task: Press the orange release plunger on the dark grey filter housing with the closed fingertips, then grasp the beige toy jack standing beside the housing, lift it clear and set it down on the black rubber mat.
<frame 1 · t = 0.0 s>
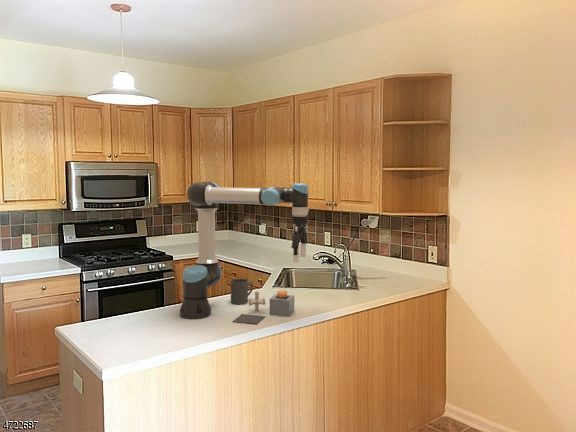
hand: (299, 259, 238), 28 cm above the worktop, fingers open, 13 cm apart
mug: (242, 302, 265), on the worktop
mat: (249, 319, 234), on the worktop
plunger: (282, 294, 244), point 10 cm above the worktop, slide at 0.0 cm
housing: (282, 312, 245), on the worktop
beige toy jack: (256, 311, 248), on the worktop
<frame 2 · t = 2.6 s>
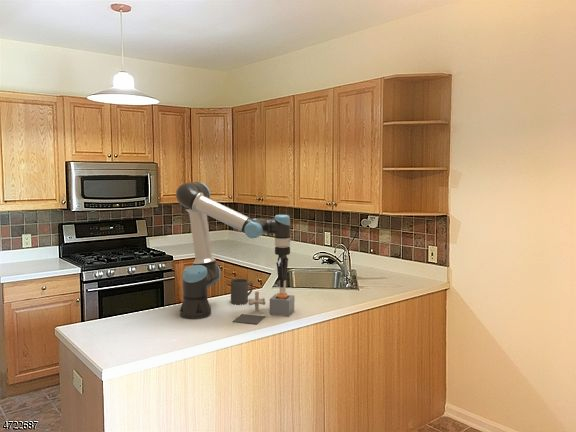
hand: (282, 293, 244), 10 cm above the worktop, fingers closed
plunger: (282, 296, 244), point 9 cm above the worktop, slide at 1.0 cm, touching gripper
everything else where it was.
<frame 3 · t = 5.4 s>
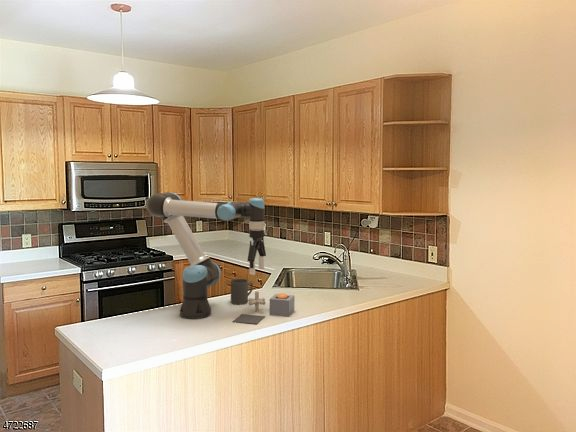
hand: (257, 271, 246), 20 cm above the worktop, fingers open, 13 cm apart
plunger: (282, 297, 244), point 8 cm above the worktop, slide at 1.6 cm
everything else where it was.
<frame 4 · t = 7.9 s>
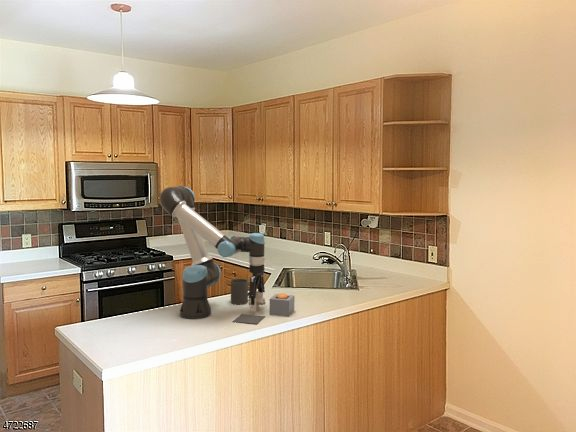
hand: (256, 307, 248), 2 cm above the worktop, fingers closed on beige toy jack, 10 cm apart
beige toy jack: (256, 311, 248), on the worktop, touching gripper
everything else where it was.
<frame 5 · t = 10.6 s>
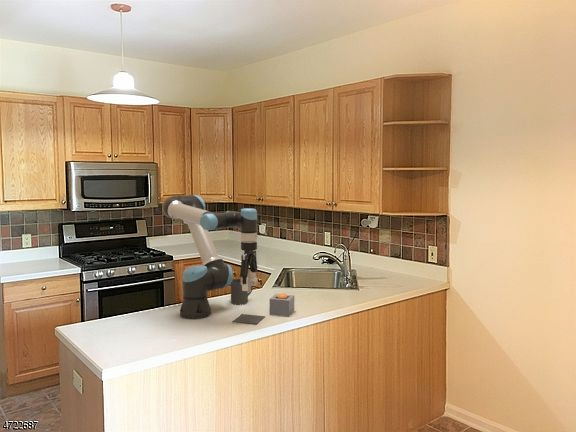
hand: (249, 288, 233), 15 cm above the worktop, fingers closed on beige toy jack, 10 cm apart
beige toy jack: (249, 292, 233), point 13 cm above the worktop, touching gripper
everything else where it was.
when the fingers open (4 cm above the worktop, at t = 13.2 s): beige toy jack drops 1 cm, resting on mat.
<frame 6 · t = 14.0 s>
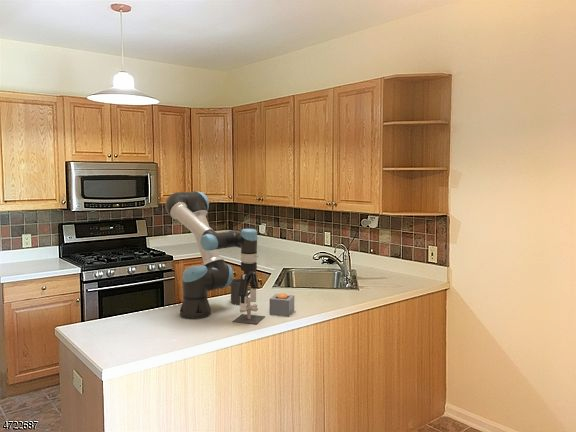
hand: (248, 305, 234), 7 cm above the worktop, fingers open, 13 cm apart
beige toy jack: (249, 318, 234), resting on mat
everything else where it was.
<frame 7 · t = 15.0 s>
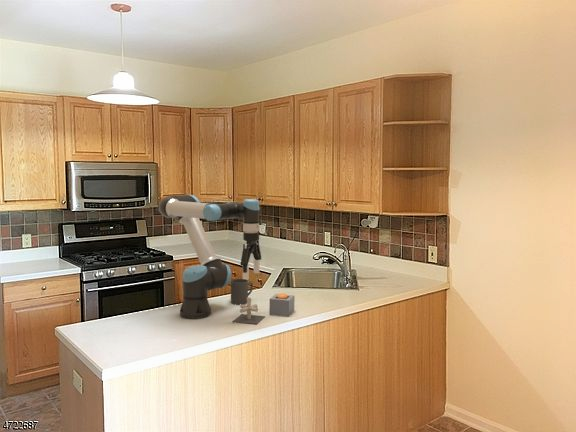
hand: (251, 276, 234), 21 cm above the worktop, fingers open, 13 cm apart
nothing on the worktop moved.
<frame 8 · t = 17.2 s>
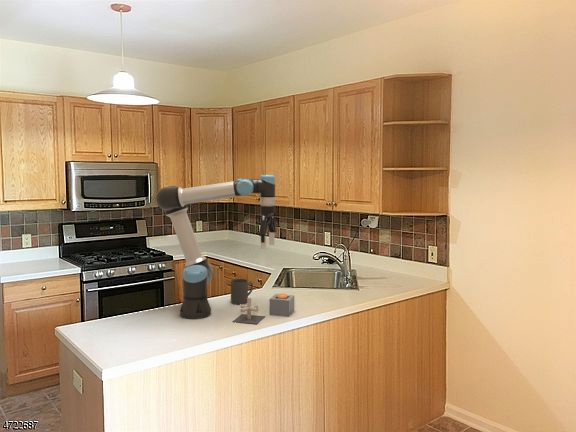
hand: (267, 246, 251), 32 cm above the worktop, fingers open, 13 cm apart
nothing on the worktop moved.
at the end: plunger slide at 1.6 cm; beige toy jack 0.1 cm from the mat (horizontally); the gripper is holding nothing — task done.
